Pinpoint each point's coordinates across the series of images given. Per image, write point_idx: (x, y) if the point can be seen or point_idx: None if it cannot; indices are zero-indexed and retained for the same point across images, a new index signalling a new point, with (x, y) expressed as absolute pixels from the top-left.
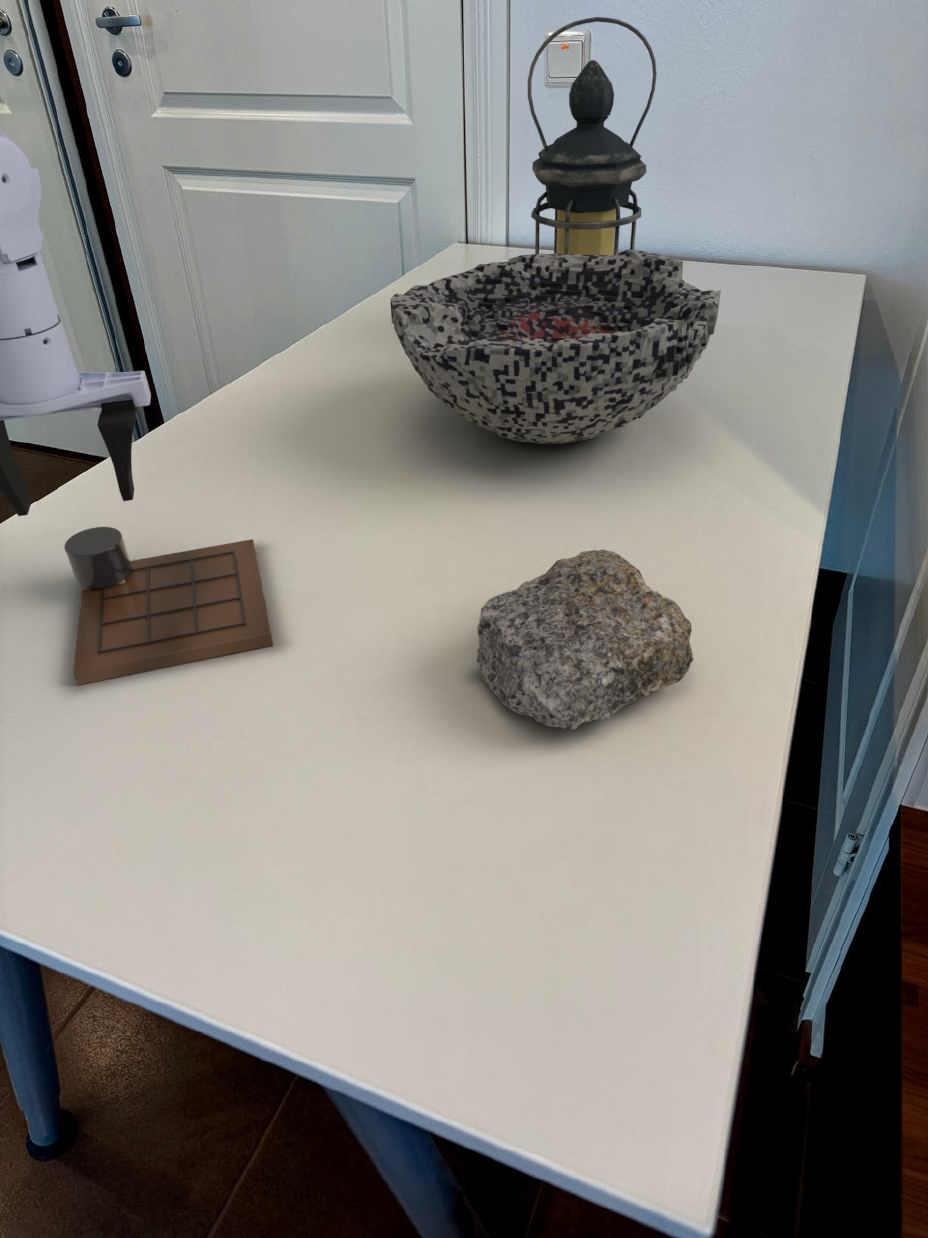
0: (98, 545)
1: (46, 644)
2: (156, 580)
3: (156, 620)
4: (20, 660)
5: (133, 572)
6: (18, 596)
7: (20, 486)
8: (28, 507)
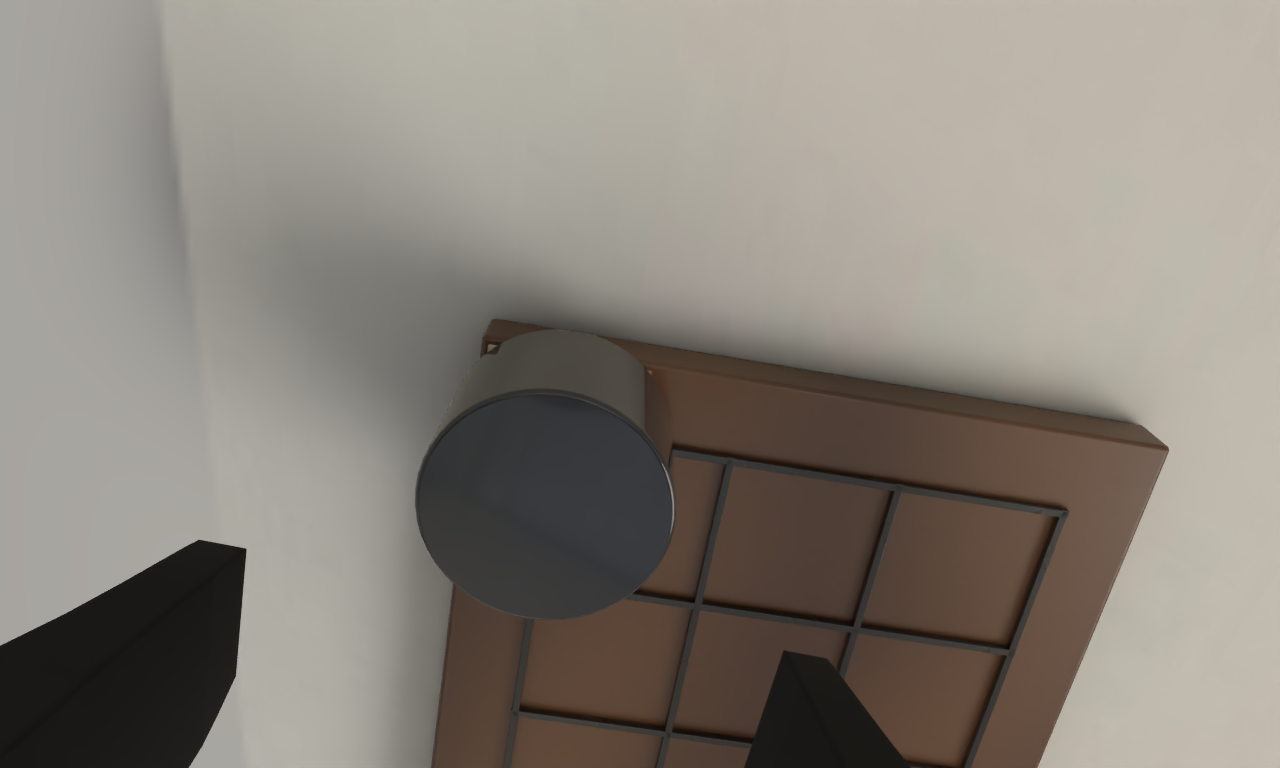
0: (564, 565)
1: (340, 622)
2: (738, 549)
3: (685, 758)
4: (264, 661)
5: None
6: (222, 293)
7: (169, 703)
8: (235, 634)
